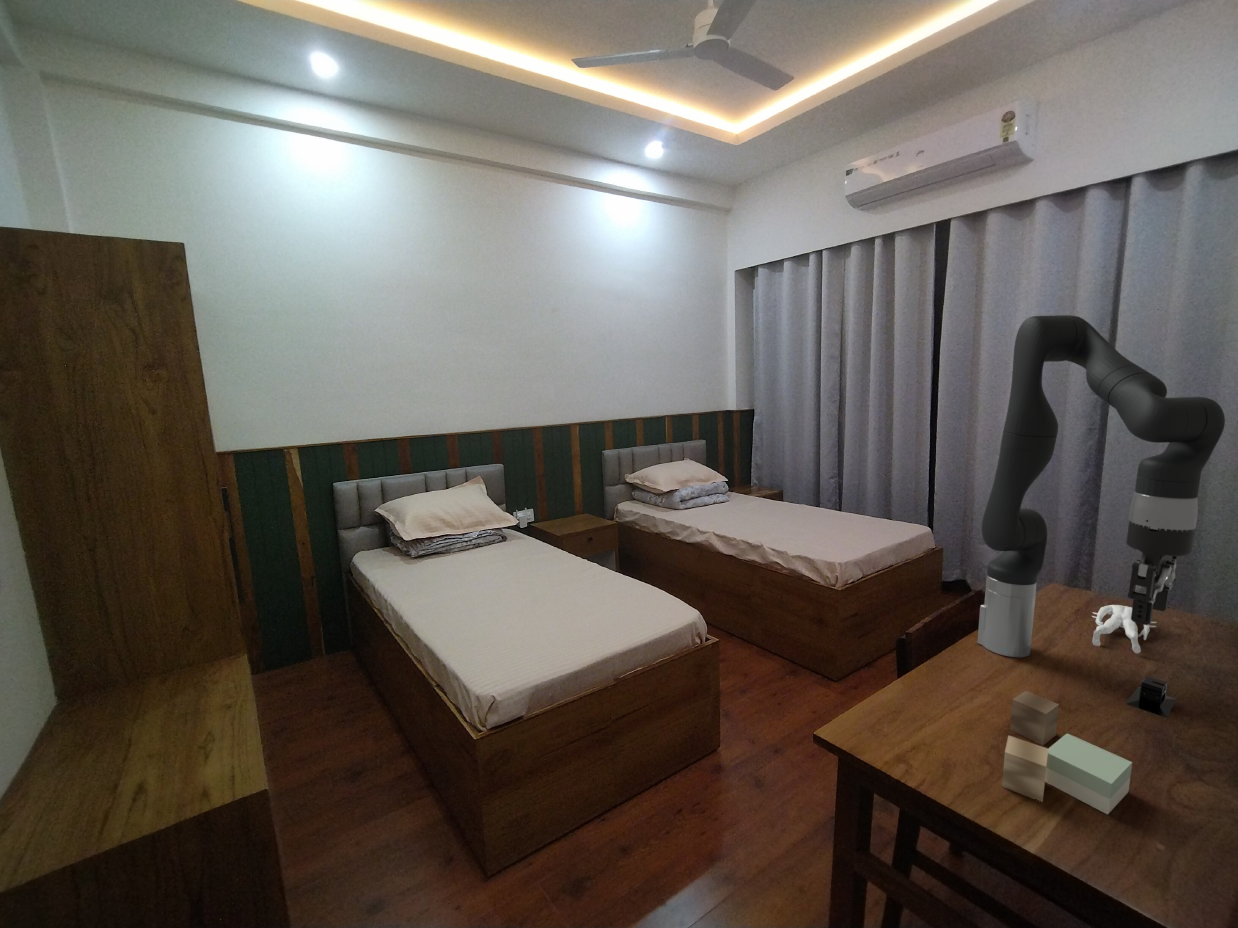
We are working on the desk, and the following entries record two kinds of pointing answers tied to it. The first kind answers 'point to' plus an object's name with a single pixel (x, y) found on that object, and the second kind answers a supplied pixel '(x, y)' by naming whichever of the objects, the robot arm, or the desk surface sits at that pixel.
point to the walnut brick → (1034, 717)
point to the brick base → (1088, 772)
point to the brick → (1025, 768)
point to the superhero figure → (1119, 624)
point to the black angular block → (1152, 697)
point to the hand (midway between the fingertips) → (1148, 615)
